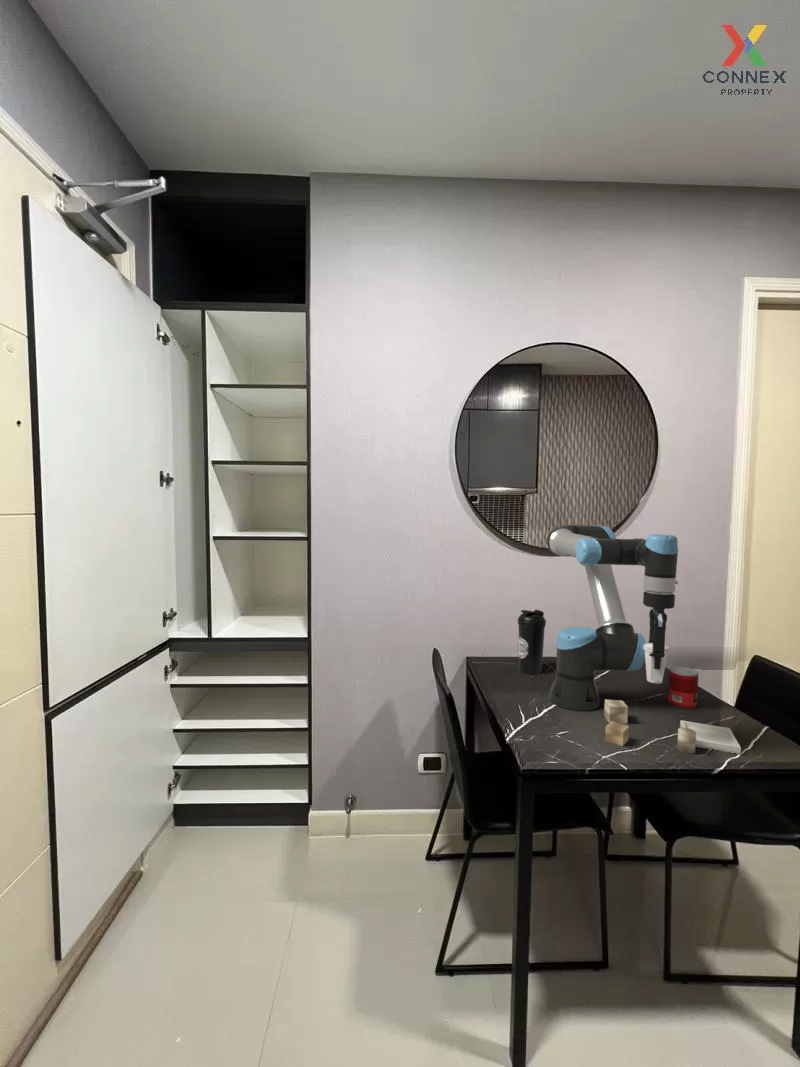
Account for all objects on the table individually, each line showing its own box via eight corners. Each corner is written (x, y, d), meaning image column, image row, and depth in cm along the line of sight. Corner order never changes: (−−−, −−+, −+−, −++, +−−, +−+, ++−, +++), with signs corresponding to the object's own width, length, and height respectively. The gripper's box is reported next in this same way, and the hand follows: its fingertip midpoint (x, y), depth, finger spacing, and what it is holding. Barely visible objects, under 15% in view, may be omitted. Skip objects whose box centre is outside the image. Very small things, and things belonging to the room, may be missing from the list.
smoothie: (644, 675, 138) (647, 626, 137) (670, 680, 134) (673, 630, 133) (638, 681, 133) (641, 630, 132) (665, 687, 129) (667, 635, 128)
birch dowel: (678, 751, 126) (679, 732, 125) (676, 744, 129) (677, 726, 129) (696, 755, 124) (697, 735, 124) (693, 748, 128) (694, 729, 128)
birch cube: (609, 722, 142) (609, 706, 142) (604, 715, 147) (604, 699, 147) (627, 724, 141) (627, 707, 141) (621, 716, 146) (622, 700, 146)
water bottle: (511, 667, 189) (513, 608, 188) (534, 665, 192) (536, 607, 191) (525, 676, 179) (527, 614, 178) (549, 674, 182) (551, 612, 181)
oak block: (604, 740, 131) (605, 726, 131) (611, 735, 134) (611, 721, 134) (622, 746, 128) (623, 731, 128) (628, 740, 131) (628, 726, 131)
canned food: (700, 709, 152) (702, 675, 152) (672, 707, 154) (674, 672, 153) (691, 700, 160) (693, 667, 159) (664, 698, 161) (666, 665, 161)
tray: (686, 744, 129) (686, 738, 129) (679, 726, 140) (680, 720, 140) (740, 754, 125) (740, 747, 125) (729, 734, 136) (729, 728, 136)
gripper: (680, 599, 122) (675, 690, 123) (670, 587, 139) (666, 667, 141) (646, 596, 125) (641, 685, 126) (641, 585, 142) (637, 663, 144)
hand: (654, 675), depth 133 cm, fingers closed on smoothie, 6 cm apart
